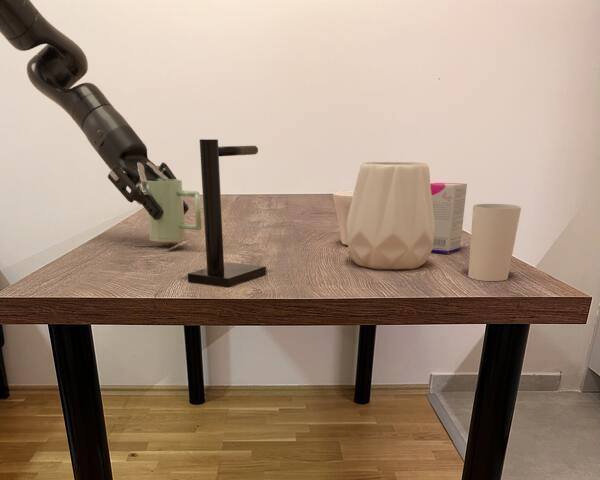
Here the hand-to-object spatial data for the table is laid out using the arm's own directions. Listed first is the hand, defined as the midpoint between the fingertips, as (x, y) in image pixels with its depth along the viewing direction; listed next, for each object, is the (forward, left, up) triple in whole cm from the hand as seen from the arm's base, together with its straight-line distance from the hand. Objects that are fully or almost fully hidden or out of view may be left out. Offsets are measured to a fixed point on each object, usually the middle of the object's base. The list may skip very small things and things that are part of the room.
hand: (172, 214), depth 113 cm
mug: (0, -1, -4) cm, 4 cm away
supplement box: (+7, -47, -6) cm, 48 cm away
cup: (+11, -32, -6) cm, 35 cm away
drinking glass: (-15, -53, -6) cm, 56 cm away
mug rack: (-21, -16, -6) cm, 27 cm away
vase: (-7, -38, -6) cm, 40 cm away
